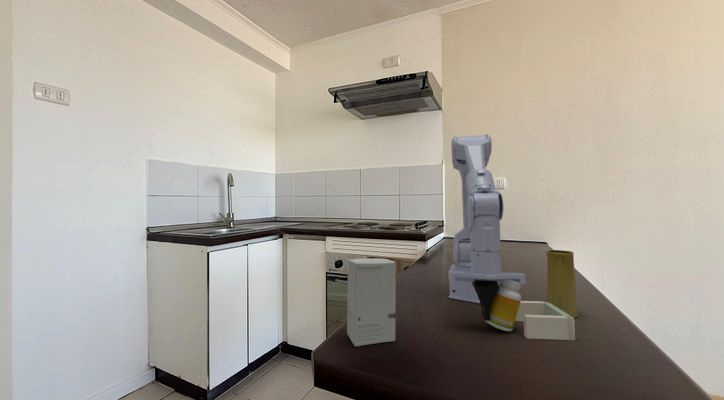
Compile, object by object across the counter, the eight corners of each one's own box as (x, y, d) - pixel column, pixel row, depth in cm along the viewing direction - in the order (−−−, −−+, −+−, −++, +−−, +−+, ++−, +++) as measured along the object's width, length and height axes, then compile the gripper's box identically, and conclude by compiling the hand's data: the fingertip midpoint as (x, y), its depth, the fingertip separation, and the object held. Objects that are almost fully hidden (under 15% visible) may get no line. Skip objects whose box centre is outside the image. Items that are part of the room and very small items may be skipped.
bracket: (526, 338, 56) (526, 316, 56) (507, 318, 66) (507, 300, 66) (575, 340, 55) (574, 318, 55) (548, 320, 65) (547, 301, 65)
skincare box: (354, 348, 53) (353, 263, 53) (346, 334, 59) (345, 258, 59) (397, 341, 55) (397, 260, 56) (385, 328, 61) (385, 255, 62)
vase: (567, 309, 71) (566, 249, 72) (584, 319, 65) (582, 253, 66) (540, 309, 72) (539, 249, 72) (554, 318, 66) (552, 253, 66)
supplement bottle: (517, 335, 58) (531, 286, 58) (490, 327, 58) (504, 279, 58) (504, 323, 63) (516, 279, 63) (479, 316, 63) (492, 272, 63)
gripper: (452, 251, 58) (452, 323, 57) (531, 253, 56) (533, 327, 55) (446, 248, 65) (447, 312, 64) (517, 250, 63) (519, 316, 62)
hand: (486, 319), depth 60 cm, fingers closed, pressing on supplement bottle
